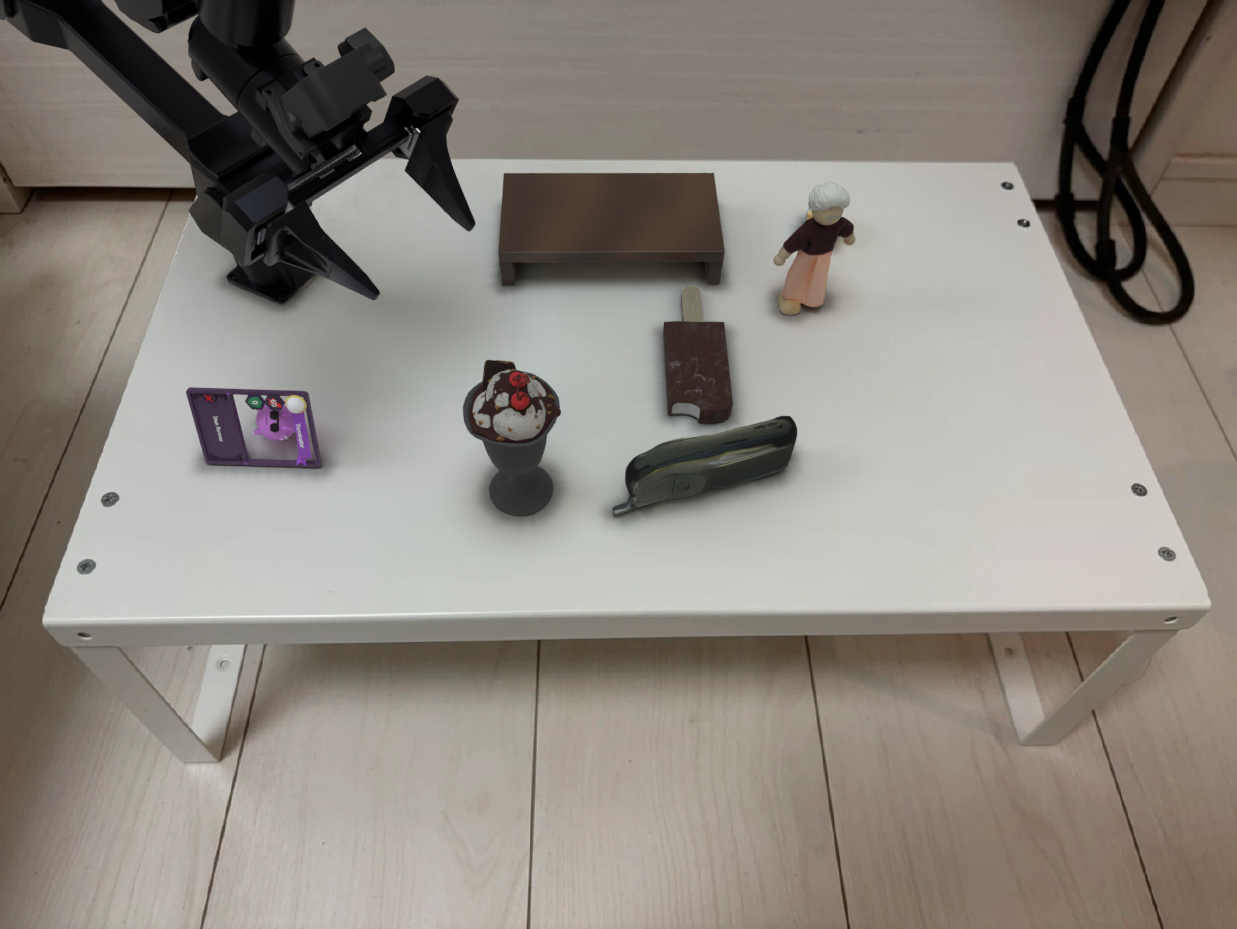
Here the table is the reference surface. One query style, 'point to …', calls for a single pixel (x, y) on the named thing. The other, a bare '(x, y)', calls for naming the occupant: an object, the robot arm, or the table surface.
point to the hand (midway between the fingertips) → (426, 261)
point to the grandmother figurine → (814, 248)
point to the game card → (273, 422)
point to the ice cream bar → (697, 364)
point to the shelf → (610, 219)
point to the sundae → (513, 433)
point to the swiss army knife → (708, 462)
